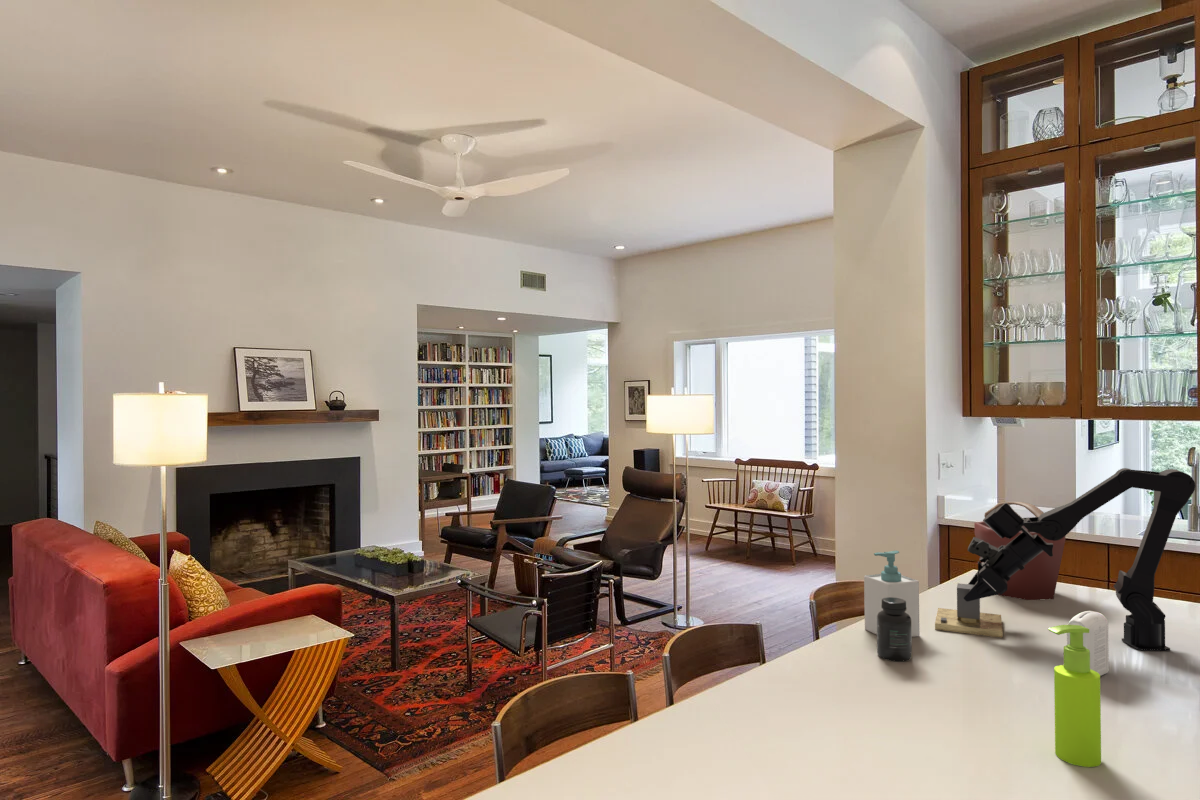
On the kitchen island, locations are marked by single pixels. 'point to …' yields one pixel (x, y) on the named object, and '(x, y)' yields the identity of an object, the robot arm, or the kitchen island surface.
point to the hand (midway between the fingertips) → (965, 595)
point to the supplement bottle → (894, 631)
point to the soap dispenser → (1077, 702)
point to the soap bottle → (890, 593)
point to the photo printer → (1094, 639)
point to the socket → (969, 623)
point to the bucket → (1038, 572)
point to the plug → (967, 604)
